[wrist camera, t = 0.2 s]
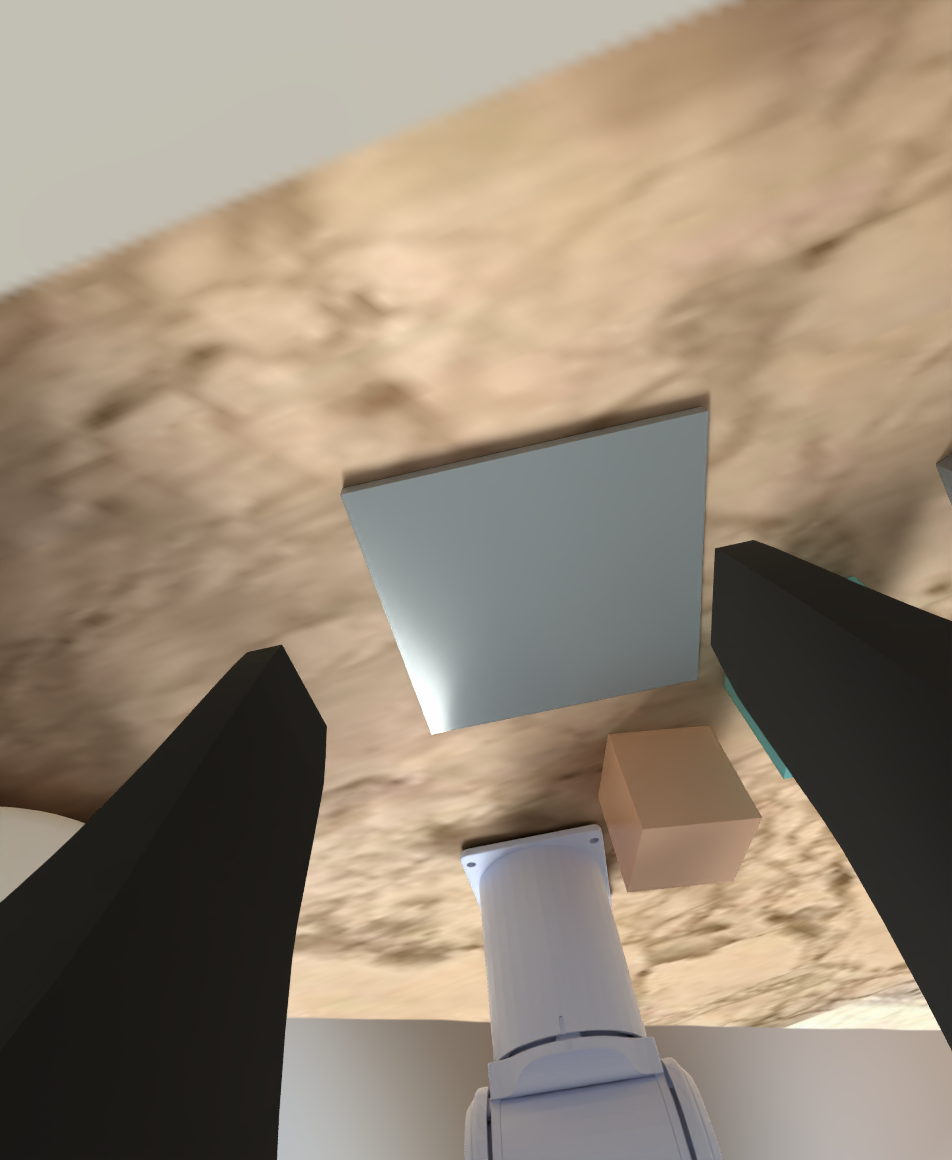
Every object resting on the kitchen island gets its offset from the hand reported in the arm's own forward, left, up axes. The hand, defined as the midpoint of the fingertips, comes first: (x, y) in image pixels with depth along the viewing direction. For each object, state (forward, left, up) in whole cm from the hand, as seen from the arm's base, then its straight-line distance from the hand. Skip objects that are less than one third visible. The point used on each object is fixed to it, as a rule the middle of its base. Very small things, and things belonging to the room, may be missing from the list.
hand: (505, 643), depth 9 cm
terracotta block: (-19, -6, -10) cm, 22 cm away
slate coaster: (-7, -2, -10) cm, 12 cm away
